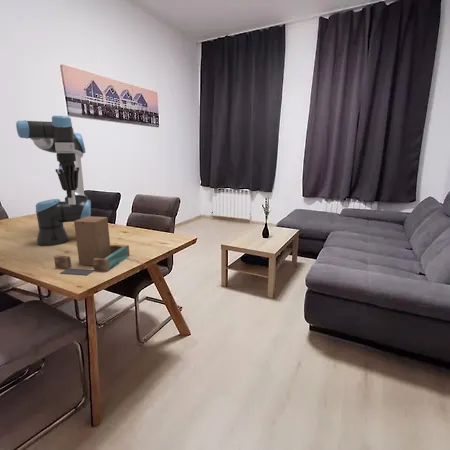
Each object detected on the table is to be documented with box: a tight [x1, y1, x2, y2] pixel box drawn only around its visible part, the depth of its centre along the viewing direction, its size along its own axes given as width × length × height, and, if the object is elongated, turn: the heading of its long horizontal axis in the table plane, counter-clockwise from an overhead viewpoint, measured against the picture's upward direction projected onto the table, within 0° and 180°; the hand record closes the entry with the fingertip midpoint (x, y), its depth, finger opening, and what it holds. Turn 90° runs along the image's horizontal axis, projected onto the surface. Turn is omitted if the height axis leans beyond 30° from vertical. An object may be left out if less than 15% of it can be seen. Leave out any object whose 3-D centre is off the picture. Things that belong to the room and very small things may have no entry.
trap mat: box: [59, 267, 94, 276], centre depth 120 cm, size 12×5×1 cm, turn 82°
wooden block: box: [73, 215, 111, 266], centre depth 129 cm, size 10×10×20 cm
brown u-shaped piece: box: [53, 244, 130, 272], centre depth 131 cm, size 24×20×5 cm
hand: (72, 204), depth 135 cm, fingers closed
